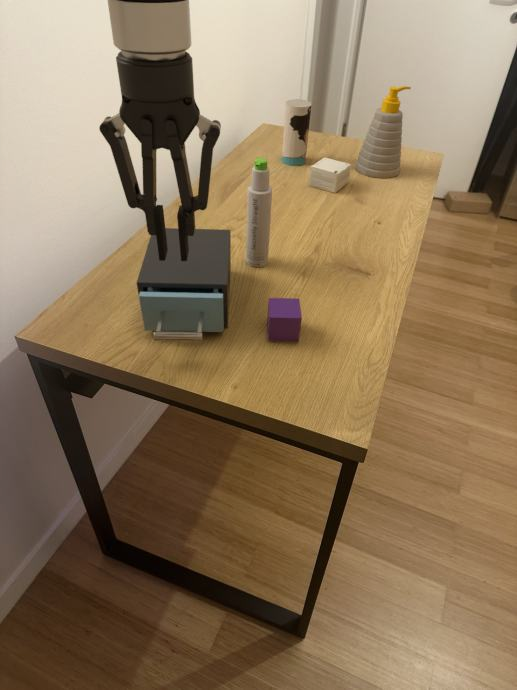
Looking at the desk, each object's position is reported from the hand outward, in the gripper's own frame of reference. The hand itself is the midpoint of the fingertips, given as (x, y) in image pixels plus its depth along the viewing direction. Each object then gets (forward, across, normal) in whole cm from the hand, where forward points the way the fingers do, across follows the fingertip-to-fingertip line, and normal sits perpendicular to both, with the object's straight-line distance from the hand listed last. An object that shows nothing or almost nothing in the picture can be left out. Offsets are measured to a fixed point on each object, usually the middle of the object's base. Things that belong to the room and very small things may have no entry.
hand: (174, 255), depth 62 cm
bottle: (+17, -12, -25) cm, 32 cm away
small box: (+17, -31, -62) cm, 71 cm away
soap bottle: (+17, -46, -73) cm, 88 cm away
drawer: (+16, 0, -7) cm, 17 cm away
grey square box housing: (+16, 0, -13) cm, 21 cm away
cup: (+17, -23, -77) cm, 82 cm away
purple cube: (+16, -16, -4) cm, 23 cm away
